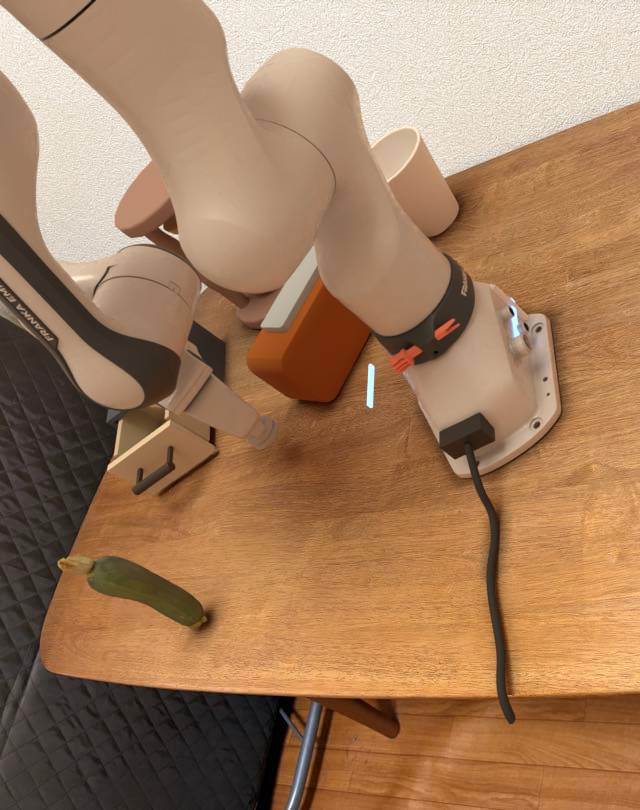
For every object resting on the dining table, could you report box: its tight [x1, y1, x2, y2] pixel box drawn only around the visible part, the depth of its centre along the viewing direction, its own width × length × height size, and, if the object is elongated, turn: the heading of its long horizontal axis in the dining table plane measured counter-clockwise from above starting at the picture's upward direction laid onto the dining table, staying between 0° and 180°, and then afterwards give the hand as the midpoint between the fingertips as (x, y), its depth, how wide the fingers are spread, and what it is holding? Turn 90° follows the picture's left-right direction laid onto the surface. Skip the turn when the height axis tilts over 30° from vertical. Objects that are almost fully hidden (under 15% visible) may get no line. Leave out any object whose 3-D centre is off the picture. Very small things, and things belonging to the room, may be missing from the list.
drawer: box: [106, 407, 216, 496], centre depth 123 cm, size 19×12×8 cm, turn 17°
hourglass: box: [114, 159, 285, 330], centre depth 129 cm, size 18×18×25 cm
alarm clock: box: [246, 244, 372, 403], centre depth 115 cm, size 24×8×11 cm, turn 155°
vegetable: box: [57, 555, 208, 630], centre depth 96 cm, size 4×4×20 cm
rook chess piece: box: [245, 414, 280, 450], centre depth 106 cm, size 4×4×8 cm
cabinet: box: [105, 319, 226, 430], centre depth 132 cm, size 16×14×10 cm
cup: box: [370, 125, 460, 238], centre depth 118 cm, size 12×12×12 cm
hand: (252, 425), depth 107 cm, fingers closed on rook chess piece, 3 cm apart
